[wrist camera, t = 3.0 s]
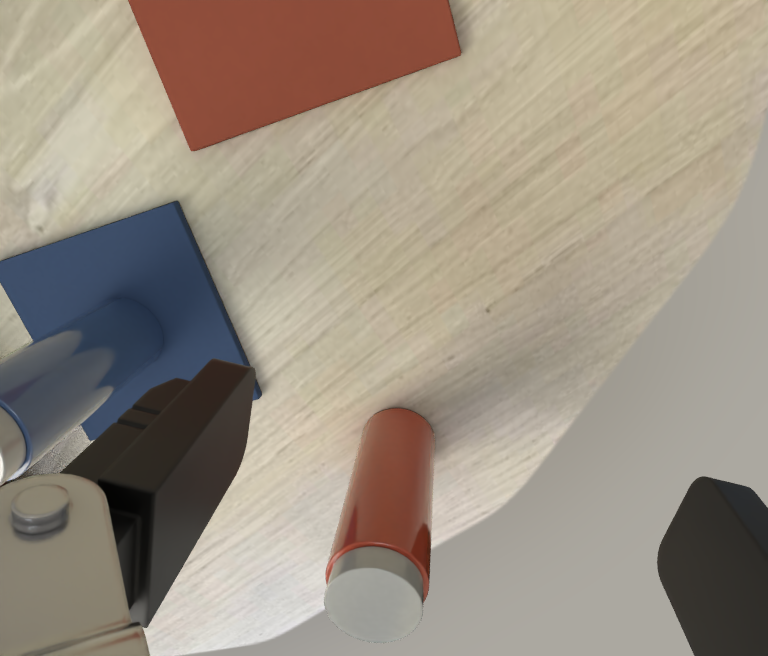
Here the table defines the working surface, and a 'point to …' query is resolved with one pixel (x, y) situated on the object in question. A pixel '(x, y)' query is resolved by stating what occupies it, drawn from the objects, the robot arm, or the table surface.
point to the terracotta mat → (283, 55)
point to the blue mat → (129, 296)
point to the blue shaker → (70, 378)
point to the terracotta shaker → (384, 531)
